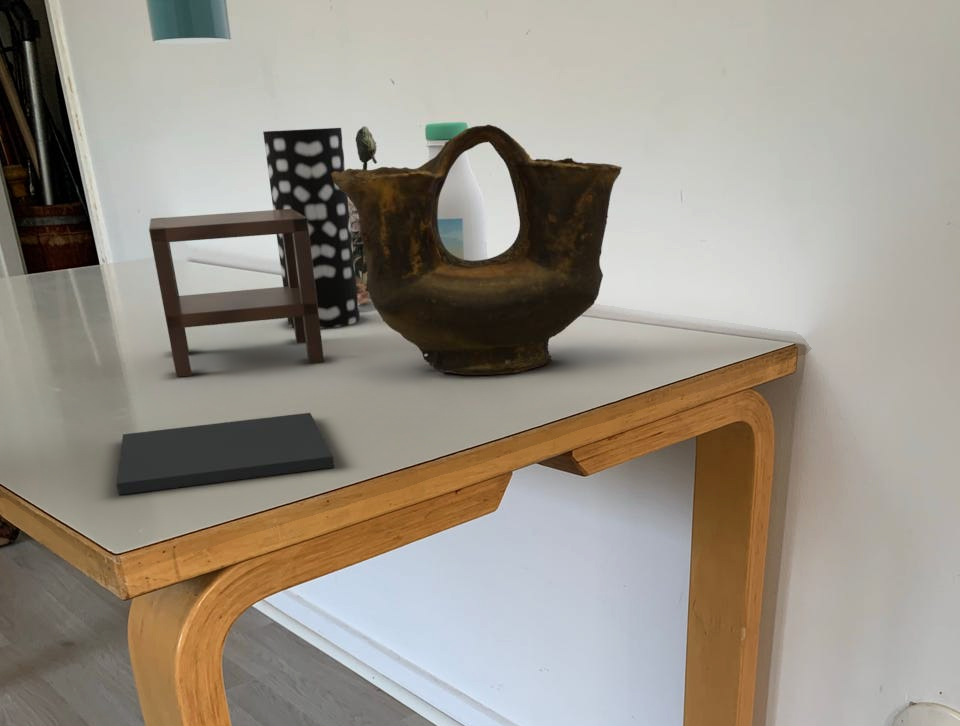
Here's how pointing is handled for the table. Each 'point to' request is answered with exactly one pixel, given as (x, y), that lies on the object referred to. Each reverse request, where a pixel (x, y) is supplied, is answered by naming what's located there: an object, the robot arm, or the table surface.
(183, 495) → the table surface
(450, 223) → the milk bottle
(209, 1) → the teal tin can
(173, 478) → the mat
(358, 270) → the plant with pod
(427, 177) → the pottery vessel
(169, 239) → the shelf
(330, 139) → the spotted tube
